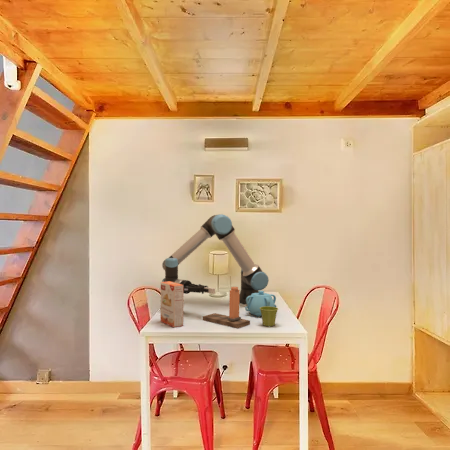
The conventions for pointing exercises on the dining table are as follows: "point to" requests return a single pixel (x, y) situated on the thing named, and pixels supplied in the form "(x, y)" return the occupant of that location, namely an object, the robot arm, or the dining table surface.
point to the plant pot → (268, 315)
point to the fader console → (226, 320)
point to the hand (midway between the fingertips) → (214, 291)
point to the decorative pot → (259, 302)
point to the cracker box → (172, 303)
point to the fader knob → (234, 304)
